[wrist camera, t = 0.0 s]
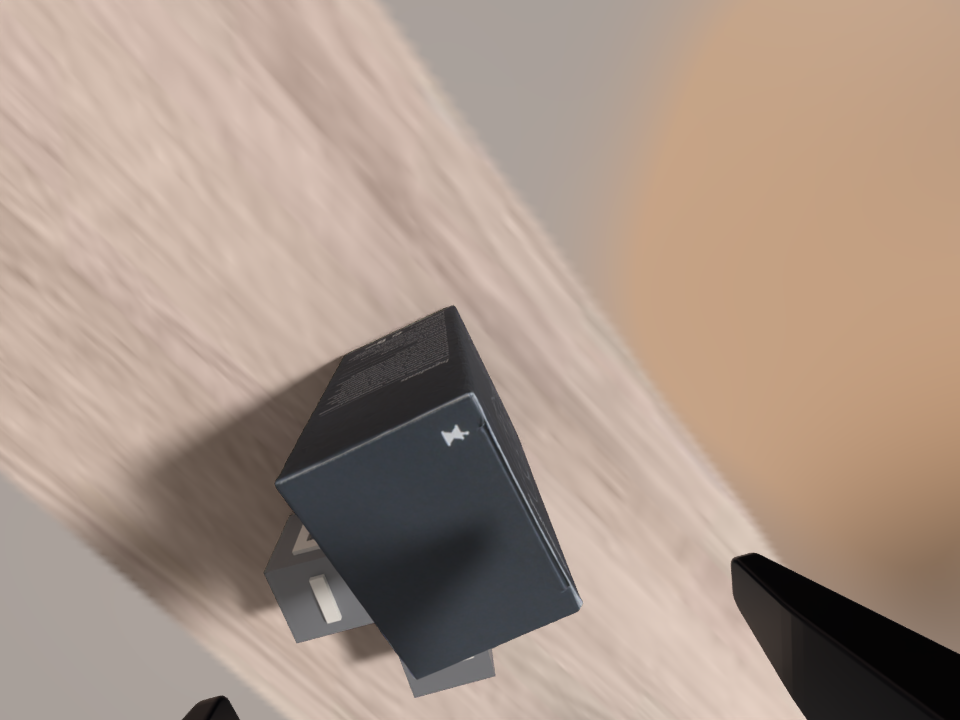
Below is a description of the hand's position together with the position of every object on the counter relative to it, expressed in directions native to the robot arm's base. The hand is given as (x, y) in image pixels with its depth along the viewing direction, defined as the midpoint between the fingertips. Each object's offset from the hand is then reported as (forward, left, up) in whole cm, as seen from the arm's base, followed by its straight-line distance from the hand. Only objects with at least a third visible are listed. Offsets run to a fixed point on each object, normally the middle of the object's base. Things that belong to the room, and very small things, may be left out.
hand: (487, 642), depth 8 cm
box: (-1, +1, -15) cm, 15 cm away
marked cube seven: (-7, +7, -15) cm, 18 cm away
